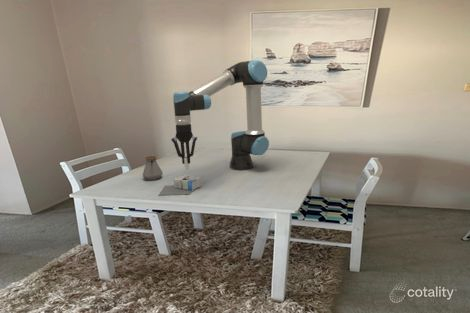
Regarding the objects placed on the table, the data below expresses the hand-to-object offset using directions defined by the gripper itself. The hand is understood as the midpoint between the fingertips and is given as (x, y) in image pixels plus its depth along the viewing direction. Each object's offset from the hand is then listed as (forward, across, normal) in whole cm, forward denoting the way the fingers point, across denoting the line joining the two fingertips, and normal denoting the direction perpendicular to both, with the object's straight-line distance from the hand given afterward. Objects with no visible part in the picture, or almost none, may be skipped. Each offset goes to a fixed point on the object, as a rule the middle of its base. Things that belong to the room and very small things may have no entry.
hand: (186, 169), depth 154 cm
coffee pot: (+11, -23, +17) cm, 31 cm away
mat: (+11, -6, 0) cm, 12 cm away
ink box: (+8, +4, +1) cm, 9 cm away
